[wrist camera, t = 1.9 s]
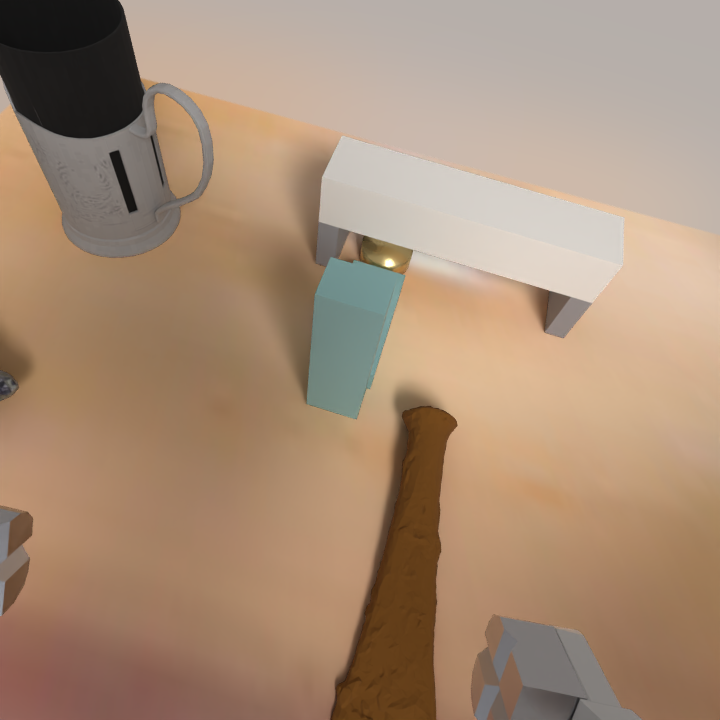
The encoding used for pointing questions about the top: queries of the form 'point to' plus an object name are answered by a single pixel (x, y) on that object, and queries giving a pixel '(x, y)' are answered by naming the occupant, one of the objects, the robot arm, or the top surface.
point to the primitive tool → (403, 591)
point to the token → (385, 255)
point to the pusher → (349, 333)
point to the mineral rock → (7, 385)
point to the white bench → (471, 225)
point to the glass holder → (93, 122)
